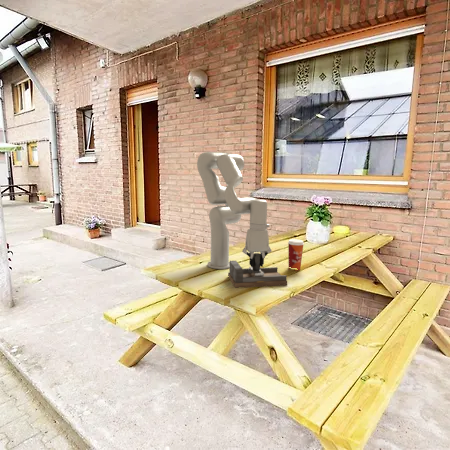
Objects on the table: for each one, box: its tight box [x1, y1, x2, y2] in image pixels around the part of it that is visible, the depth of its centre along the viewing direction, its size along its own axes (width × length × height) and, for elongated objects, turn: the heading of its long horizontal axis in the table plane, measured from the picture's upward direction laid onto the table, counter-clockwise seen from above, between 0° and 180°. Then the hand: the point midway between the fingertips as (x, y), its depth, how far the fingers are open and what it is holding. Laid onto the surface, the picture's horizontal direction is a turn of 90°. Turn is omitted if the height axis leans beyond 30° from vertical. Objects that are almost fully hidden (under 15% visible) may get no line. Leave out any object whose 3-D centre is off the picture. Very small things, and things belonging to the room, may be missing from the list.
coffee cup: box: [287, 238, 305, 271], centre depth 173 cm, size 8×8×15 cm
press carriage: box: [248, 252, 264, 277], centre depth 154 cm, size 10×4×10 cm, turn 11°
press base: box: [227, 260, 288, 289], centre depth 154 cm, size 15×24×8 cm, turn 101°
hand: (256, 265), depth 154 cm, fingers closed on press carriage, 3 cm apart
